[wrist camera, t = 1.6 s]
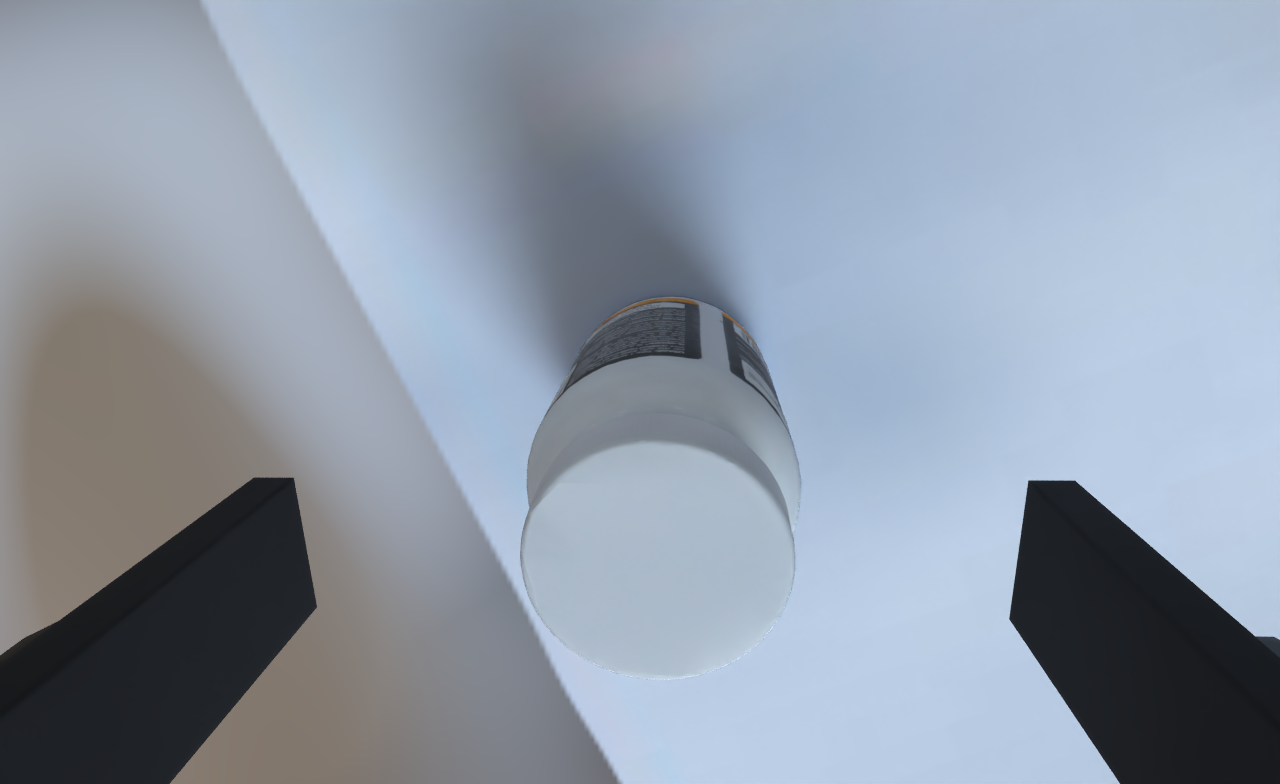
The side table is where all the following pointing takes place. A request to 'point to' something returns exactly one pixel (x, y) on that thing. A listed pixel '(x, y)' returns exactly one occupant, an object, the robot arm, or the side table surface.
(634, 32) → the side table surface
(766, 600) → the pill bottle
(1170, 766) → the robot arm
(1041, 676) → the side table surface
